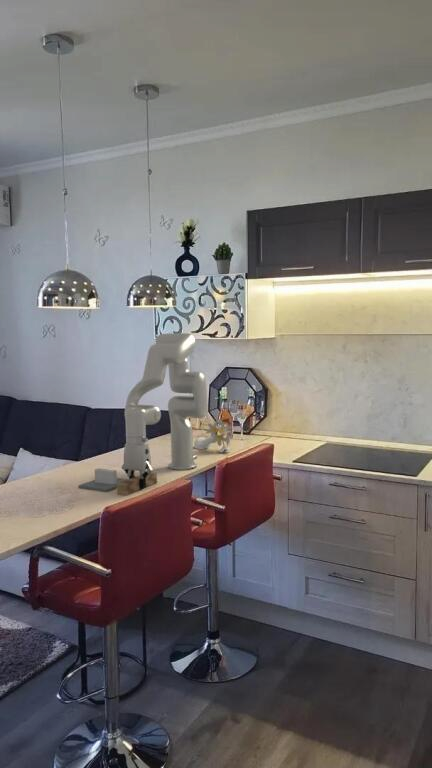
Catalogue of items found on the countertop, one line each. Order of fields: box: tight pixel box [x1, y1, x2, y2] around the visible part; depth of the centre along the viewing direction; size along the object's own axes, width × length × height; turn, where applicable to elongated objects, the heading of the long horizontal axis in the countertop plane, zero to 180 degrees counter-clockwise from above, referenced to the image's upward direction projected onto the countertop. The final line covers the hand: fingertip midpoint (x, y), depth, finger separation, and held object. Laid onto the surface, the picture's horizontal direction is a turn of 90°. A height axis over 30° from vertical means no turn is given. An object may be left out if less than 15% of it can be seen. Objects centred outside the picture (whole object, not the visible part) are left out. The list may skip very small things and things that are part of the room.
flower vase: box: [193, 417, 234, 453], centre depth 298 cm, size 13×18×25 cm
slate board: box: [78, 468, 129, 493], centre depth 232 cm, size 16×14×6 cm
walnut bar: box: [116, 471, 158, 497], centre depth 227 cm, size 20×4×4 cm, turn 151°
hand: (137, 487), depth 227 cm, fingers closed on walnut bar, 4 cm apart
